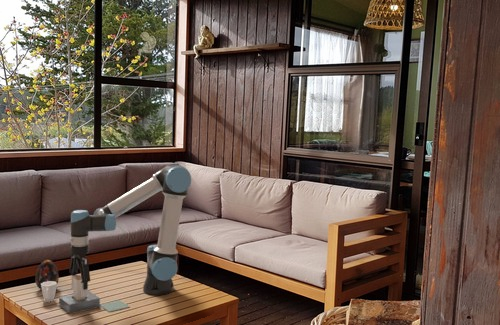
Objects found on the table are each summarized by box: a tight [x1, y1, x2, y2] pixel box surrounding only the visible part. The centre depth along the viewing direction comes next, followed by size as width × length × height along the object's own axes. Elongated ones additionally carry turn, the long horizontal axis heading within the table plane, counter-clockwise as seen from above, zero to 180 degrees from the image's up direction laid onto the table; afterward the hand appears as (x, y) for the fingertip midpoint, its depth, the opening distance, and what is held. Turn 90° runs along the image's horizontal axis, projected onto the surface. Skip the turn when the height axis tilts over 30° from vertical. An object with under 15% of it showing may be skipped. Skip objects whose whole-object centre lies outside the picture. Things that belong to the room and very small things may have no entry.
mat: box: [100, 299, 130, 313], centre depth 236 cm, size 10×10×1 cm
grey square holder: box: [58, 290, 101, 314], centre depth 234 cm, size 14×12×4 cm
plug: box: [72, 274, 86, 301], centre depth 234 cm, size 4×4×14 cm
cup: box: [41, 281, 58, 303], centre depth 239 cm, size 7×10×8 cm
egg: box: [34, 259, 60, 292], centre depth 254 cm, size 11×11×15 cm
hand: (79, 292), depth 234 cm, fingers open, 10 cm apart
